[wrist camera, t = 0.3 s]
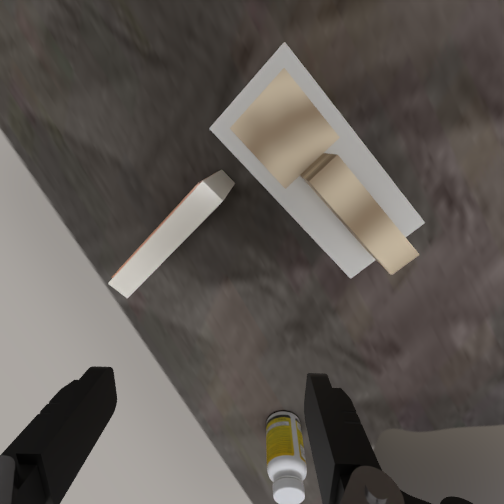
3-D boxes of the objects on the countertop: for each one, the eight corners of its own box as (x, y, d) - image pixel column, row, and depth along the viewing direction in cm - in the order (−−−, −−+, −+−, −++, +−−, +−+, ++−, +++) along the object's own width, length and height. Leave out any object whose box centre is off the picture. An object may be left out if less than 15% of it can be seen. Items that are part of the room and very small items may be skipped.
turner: (405, 222, 29) (439, 240, 24) (353, 262, 31) (373, 287, 26) (283, 69, 24) (290, 47, 19) (230, 128, 26) (222, 124, 21)
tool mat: (284, 43, 24) (284, 41, 24) (422, 221, 30) (425, 222, 29) (209, 128, 27) (209, 128, 26) (349, 277, 32) (350, 278, 32)
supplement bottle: (259, 424, 43) (259, 499, 33) (278, 404, 41) (283, 478, 32) (287, 437, 43) (293, 514, 34) (306, 418, 42) (319, 494, 33)
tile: (220, 168, 28) (201, 179, 19) (235, 183, 29) (223, 201, 19) (151, 242, 32) (106, 282, 22) (165, 254, 32) (127, 298, 23)
